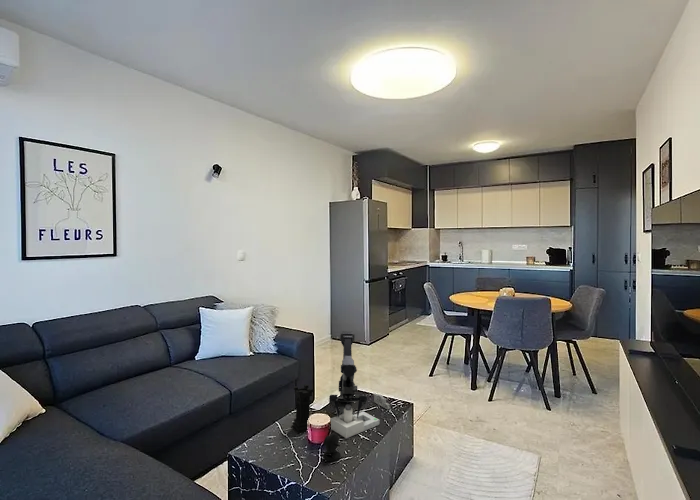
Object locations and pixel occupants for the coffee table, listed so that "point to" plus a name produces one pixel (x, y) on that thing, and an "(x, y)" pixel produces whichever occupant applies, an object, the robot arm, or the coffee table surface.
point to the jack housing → (353, 424)
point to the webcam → (331, 447)
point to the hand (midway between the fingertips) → (348, 417)
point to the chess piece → (302, 408)
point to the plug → (348, 413)
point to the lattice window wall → (383, 401)
